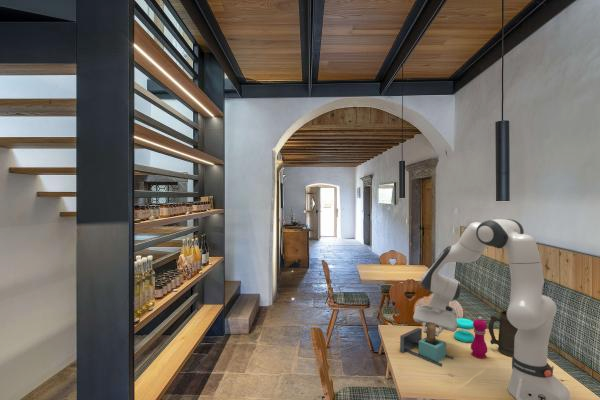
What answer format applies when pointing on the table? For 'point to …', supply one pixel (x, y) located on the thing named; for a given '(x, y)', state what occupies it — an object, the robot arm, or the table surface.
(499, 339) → the beer stein
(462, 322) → the donuts
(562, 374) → the table surface
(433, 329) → the dowel
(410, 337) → the track
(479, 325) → the pepper mill
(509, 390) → the robot arm
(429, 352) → the socket block
